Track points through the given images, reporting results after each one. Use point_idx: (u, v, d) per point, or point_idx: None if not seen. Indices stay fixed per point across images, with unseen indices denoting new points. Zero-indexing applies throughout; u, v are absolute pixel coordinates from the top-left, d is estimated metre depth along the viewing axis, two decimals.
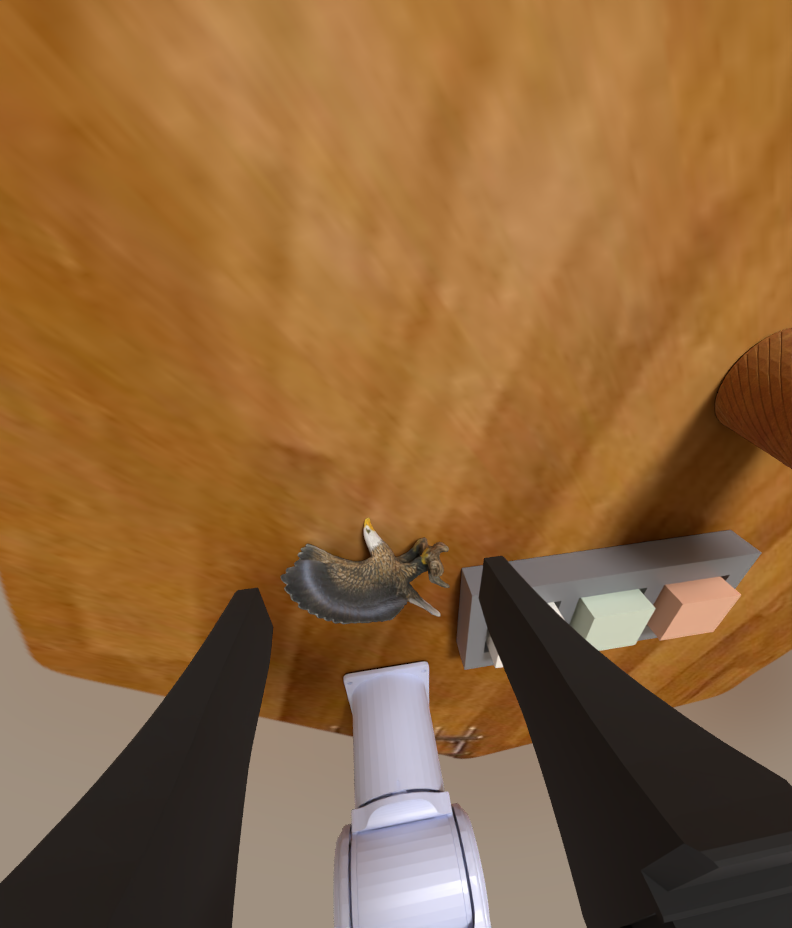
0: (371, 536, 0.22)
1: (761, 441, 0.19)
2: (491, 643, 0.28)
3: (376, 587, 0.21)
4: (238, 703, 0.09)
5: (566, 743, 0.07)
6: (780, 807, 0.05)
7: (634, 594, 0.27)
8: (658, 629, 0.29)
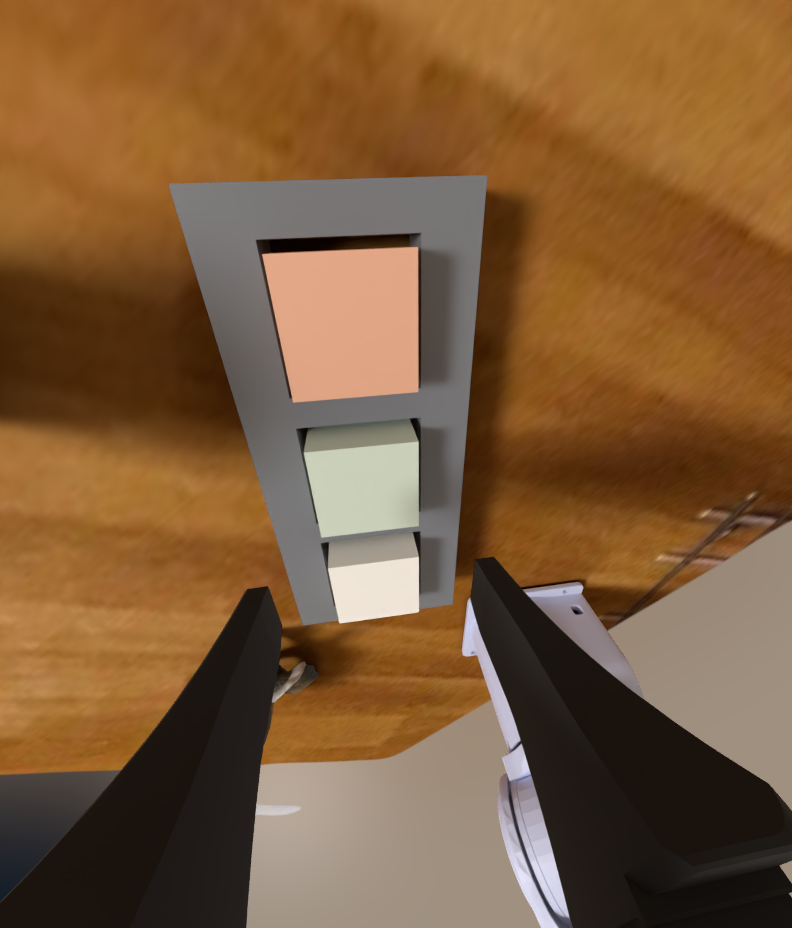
0: None
1: None
2: None
3: None
4: (250, 701, 0.09)
5: (553, 745, 0.07)
6: (762, 811, 0.05)
7: None
8: None
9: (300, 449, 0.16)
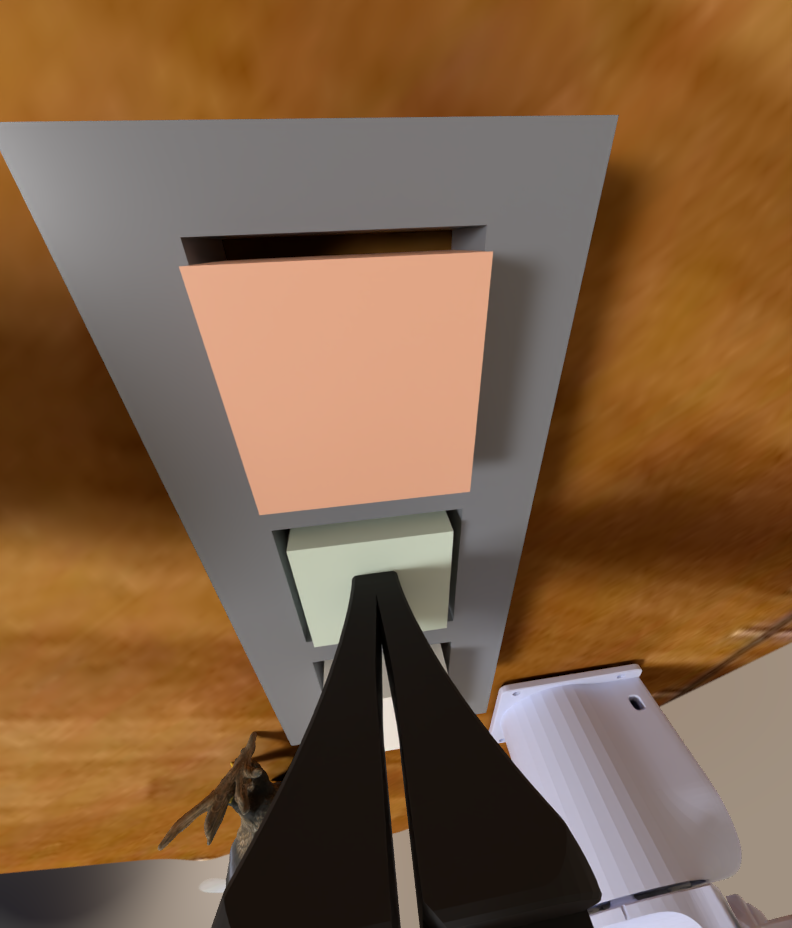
0: None
1: None
2: None
3: None
4: (379, 681, 0.09)
5: (404, 773, 0.07)
6: (544, 858, 0.05)
7: None
8: None
9: (279, 555, 0.11)
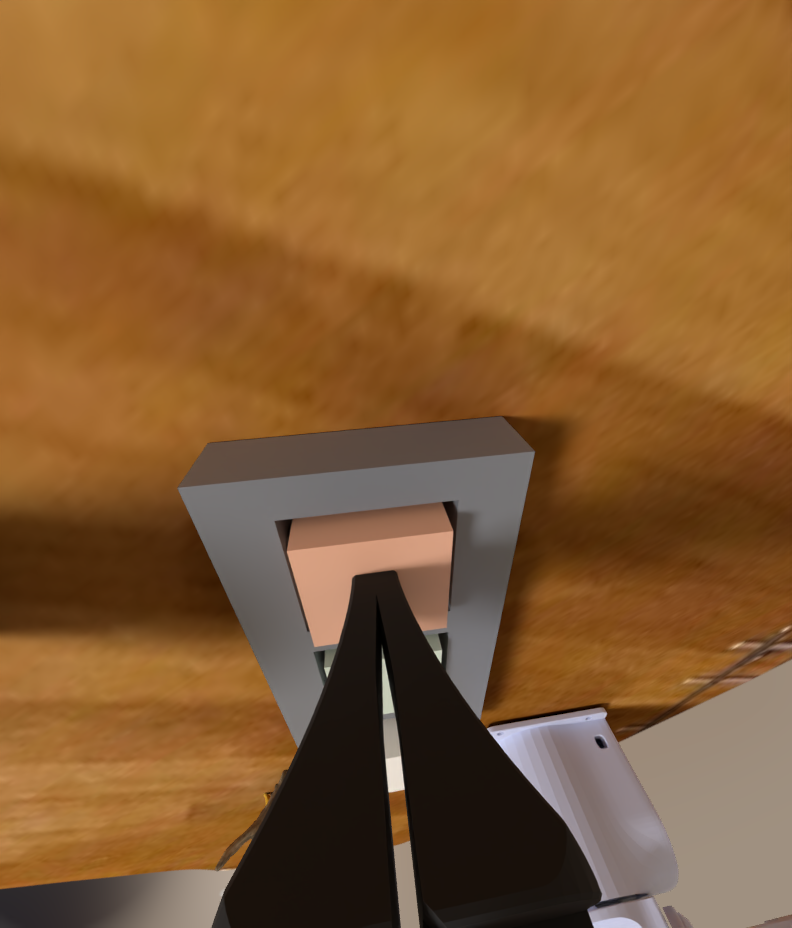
0: None
1: None
2: None
3: None
4: (379, 681, 0.09)
5: (404, 773, 0.07)
6: (544, 858, 0.05)
7: None
8: None
9: (317, 664, 0.15)
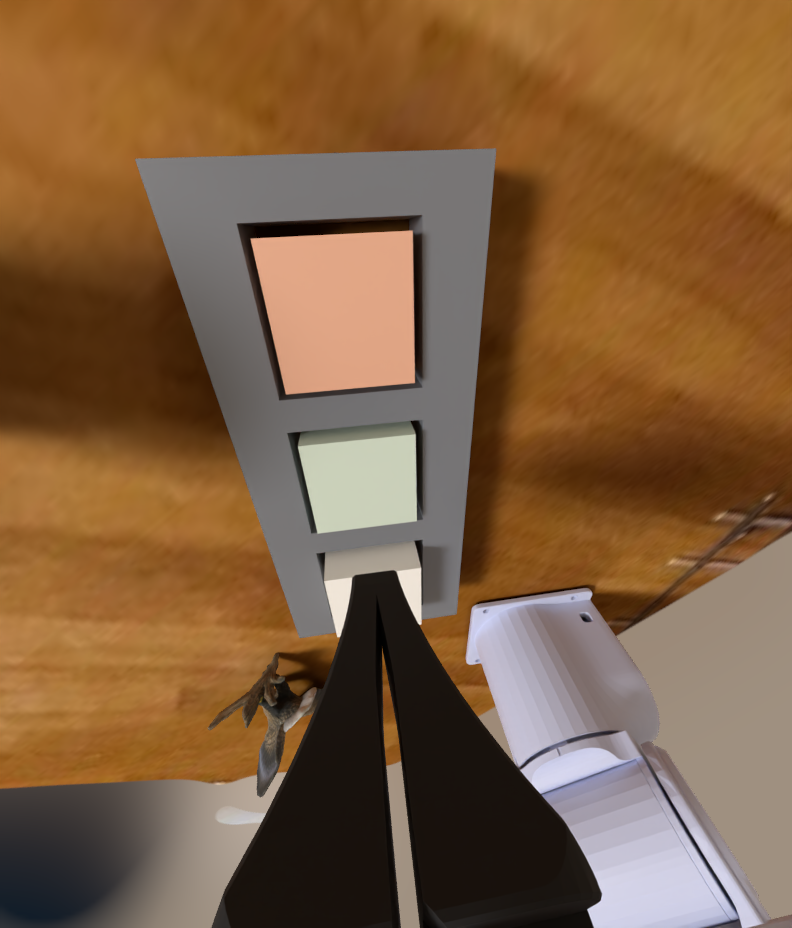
0: None
1: None
2: None
3: (278, 732, 0.25)
4: (379, 681, 0.09)
5: (404, 773, 0.07)
6: (544, 858, 0.05)
7: None
8: None
9: (292, 455, 0.15)
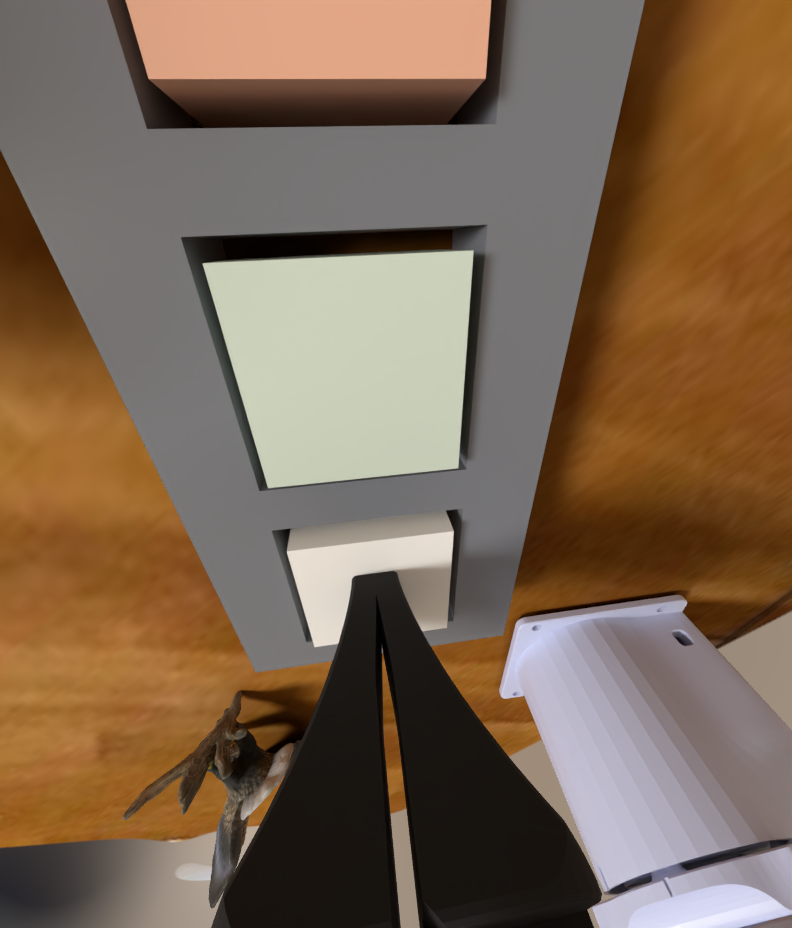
0: None
1: None
2: None
3: None
4: (379, 681, 0.09)
5: (404, 773, 0.07)
6: (544, 858, 0.05)
7: None
8: (429, 91, 0.06)
9: (202, 304, 0.07)
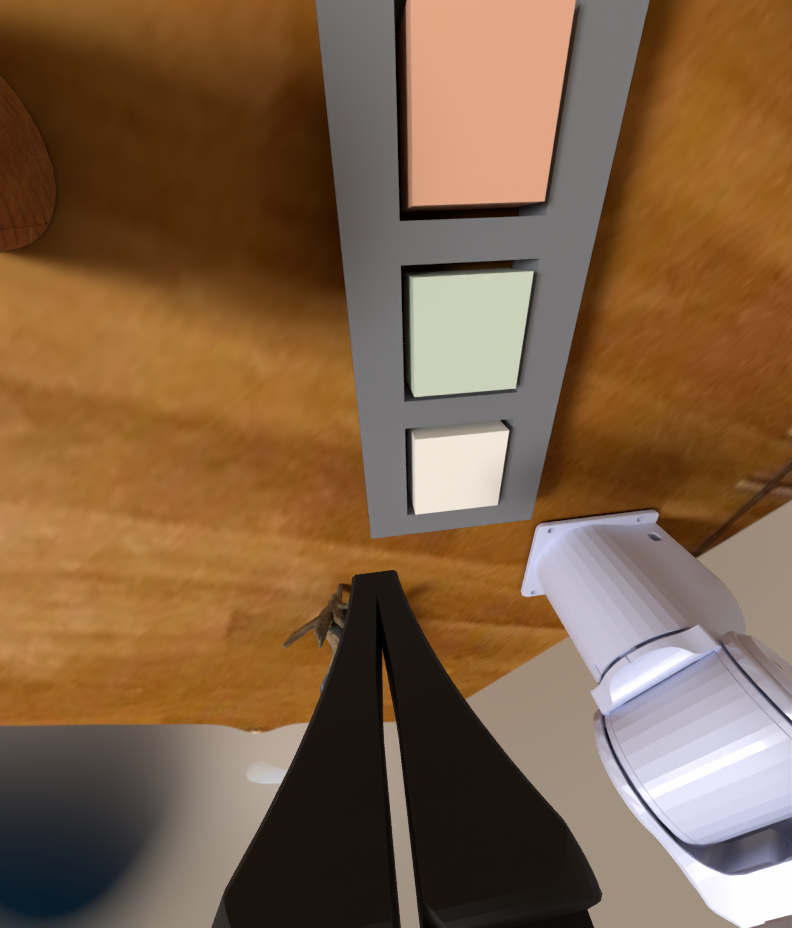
0: None
1: None
2: None
3: None
4: (379, 681, 0.09)
5: (404, 773, 0.07)
6: (544, 858, 0.05)
7: (408, 292, 0.15)
8: (518, 203, 0.13)
9: (400, 296, 0.14)
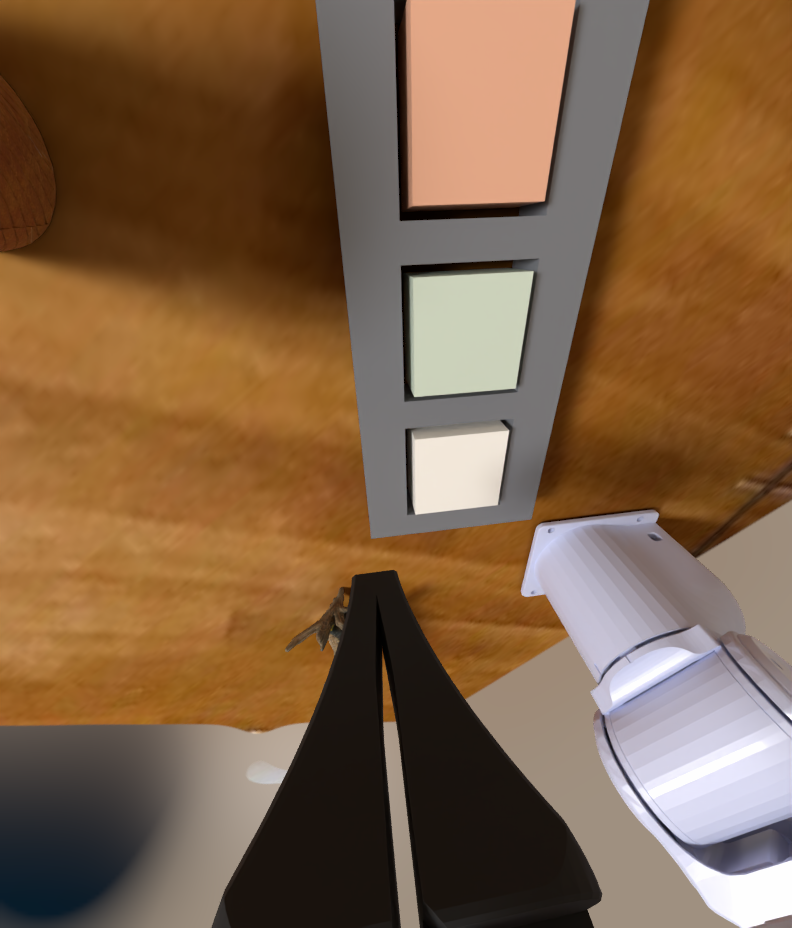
0: None
1: None
2: None
3: None
4: (379, 681, 0.09)
5: (404, 773, 0.07)
6: (544, 858, 0.05)
7: (408, 292, 0.15)
8: (518, 203, 0.13)
9: (400, 296, 0.14)
